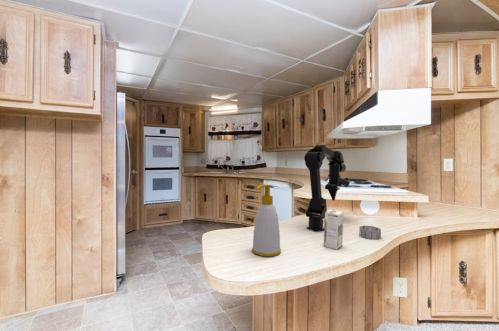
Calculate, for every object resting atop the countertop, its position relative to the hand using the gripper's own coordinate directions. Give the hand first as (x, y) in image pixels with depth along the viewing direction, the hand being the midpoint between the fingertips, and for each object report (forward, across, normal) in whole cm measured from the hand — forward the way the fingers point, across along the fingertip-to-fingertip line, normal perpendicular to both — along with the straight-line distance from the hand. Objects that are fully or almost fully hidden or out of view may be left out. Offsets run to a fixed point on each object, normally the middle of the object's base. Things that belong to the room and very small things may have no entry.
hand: (333, 200), depth 138 cm
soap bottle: (+12, -59, +15) cm, 62 cm away
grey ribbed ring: (+12, -19, -20) cm, 30 cm away
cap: (+12, -19, -20) cm, 30 cm away
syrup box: (+12, -40, -7) cm, 43 cm away
